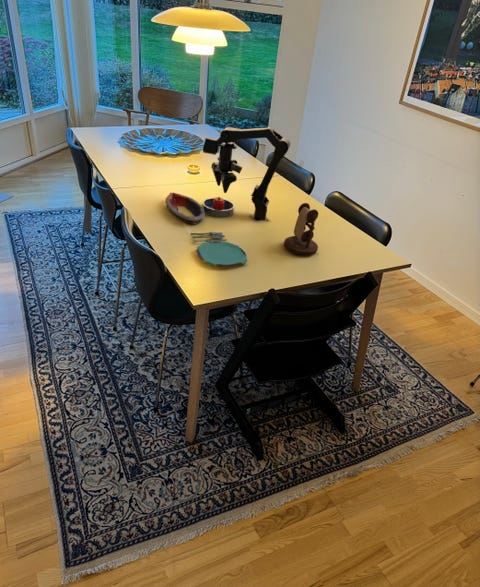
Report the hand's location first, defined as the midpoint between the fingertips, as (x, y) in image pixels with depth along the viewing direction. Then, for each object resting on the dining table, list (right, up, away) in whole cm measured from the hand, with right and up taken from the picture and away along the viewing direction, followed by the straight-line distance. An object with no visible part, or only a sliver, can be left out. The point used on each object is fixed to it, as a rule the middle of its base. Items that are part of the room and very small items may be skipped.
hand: (221, 189), depth 213 cm
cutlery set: (-1, -33, -29) cm, 44 cm away
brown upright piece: (+35, -31, -18) cm, 50 cm away
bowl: (-2, -10, +4) cm, 11 cm away
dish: (-18, -12, -2) cm, 22 cm away
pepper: (-2, -10, +4) cm, 11 cm away
